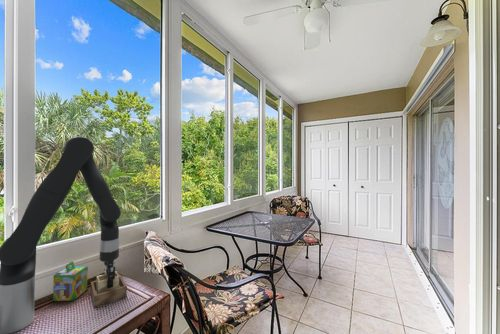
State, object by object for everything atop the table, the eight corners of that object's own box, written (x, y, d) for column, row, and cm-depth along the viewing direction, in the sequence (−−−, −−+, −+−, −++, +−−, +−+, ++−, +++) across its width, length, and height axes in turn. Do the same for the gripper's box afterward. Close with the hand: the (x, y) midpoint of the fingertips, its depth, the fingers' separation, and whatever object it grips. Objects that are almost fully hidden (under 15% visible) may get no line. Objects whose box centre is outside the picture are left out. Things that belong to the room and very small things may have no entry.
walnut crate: (94, 307, 91) (94, 296, 91) (90, 292, 102) (90, 281, 102) (126, 297, 99) (126, 286, 99) (119, 283, 110) (120, 274, 110)
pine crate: (97, 295, 95) (98, 281, 95) (96, 289, 100) (96, 276, 100) (118, 289, 101) (119, 276, 101) (116, 283, 105) (116, 271, 105)
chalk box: (74, 301, 95) (75, 267, 95) (51, 301, 94) (52, 267, 94) (88, 289, 104) (89, 258, 104) (67, 289, 104) (68, 258, 104)
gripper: (97, 245, 103) (96, 280, 103) (102, 255, 92) (101, 294, 93) (115, 242, 108) (115, 275, 108) (122, 251, 97) (121, 288, 98)
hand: (108, 284), depth 101 cm, fingers closed on pine crate, 6 cm apart
